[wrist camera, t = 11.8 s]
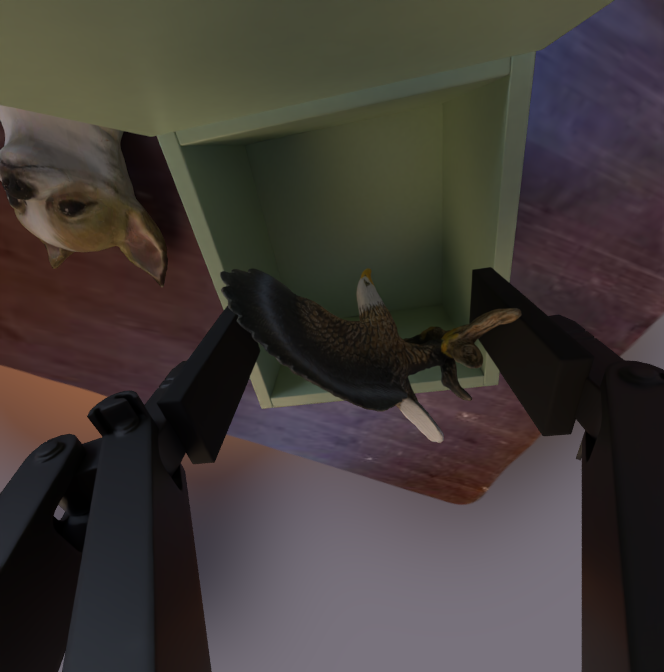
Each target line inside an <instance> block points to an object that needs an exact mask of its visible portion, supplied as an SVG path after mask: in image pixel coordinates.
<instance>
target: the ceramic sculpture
mask: <svg viewBox="0 0 664 672" xmlns="http://www.w3.org/2000/svg"><path fill="white" fill-rule="evenodd" d="M0 120H1V122H2V125H3V128H4V131H5V145H4V147H3V148H2V149H1V150H0V180H1V181H2V185H3V188H4V189H5V191H6V194H7V198H8V200H9V203H10V205H11V206H12V207H13V208H14V209H15V214H16V216H17V218H18V220H19V221H20V222H21V224H22V225H23V226H24V227H25V228H26V229H27V230H29V231H30V232H31V233H33V234H34V235H35V236H37V237H38V238H39V239H40V240H41V241H42V242H43V243H44V245H45V247H46V249H47V252H48V257H49V261H50V264H51V266H52V268H58V267H59V266H60V265H61V264H62V263H63V261H64V260H65V259H66V258H67V257H69V256H70V255H71V254H72V253H74V252H93V251H101V250H104V249H107V248H110V247H113V246H118V247H120V249H121V251H122V252H123V253H124V254H125V255H126V257H127V258H128V259H129V260H130V261H131V262H132V263H133V264H134V265H136V266H138V267H140V268H141V269H143V270H144V271H146V272H147V273H148V274H150V275H151V276H152V277H153V278H154V279H155V280H156V282H157V283H158V284H159V285H160V286H161V287H163V286H164V282H165V276H166V271H167V264H168V258H167V247H166V244H165V241H164V238H163V236H162V234H161V231H160V230H159V228H158V227H157V225H156V224H155V222H154V221H153V219H152V218H151V217H150V215H149V214H148V213H147V212H146V210H145V209H144V207H143V206H142V205H141V204H140V203H139V202H138V201H137V200H136V198H135V195H134V190H133V186H132V183H131V181H130V178H129V175H128V172H127V168H126V164H125V160H124V157H123V154H122V151H121V147H120V142H121V138H122V135H123V132H124V131H121V130H117V129H112V128H107V127H103V126H98V125H93V124H88V123H84V122H79V121H74V120H69V119H65V118H60V117H55V116H51V115H46V114H41V113H36V112H32V111H27V110H22V109H17V108H13V107H8V106H3V105H0Z"/></svg>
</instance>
